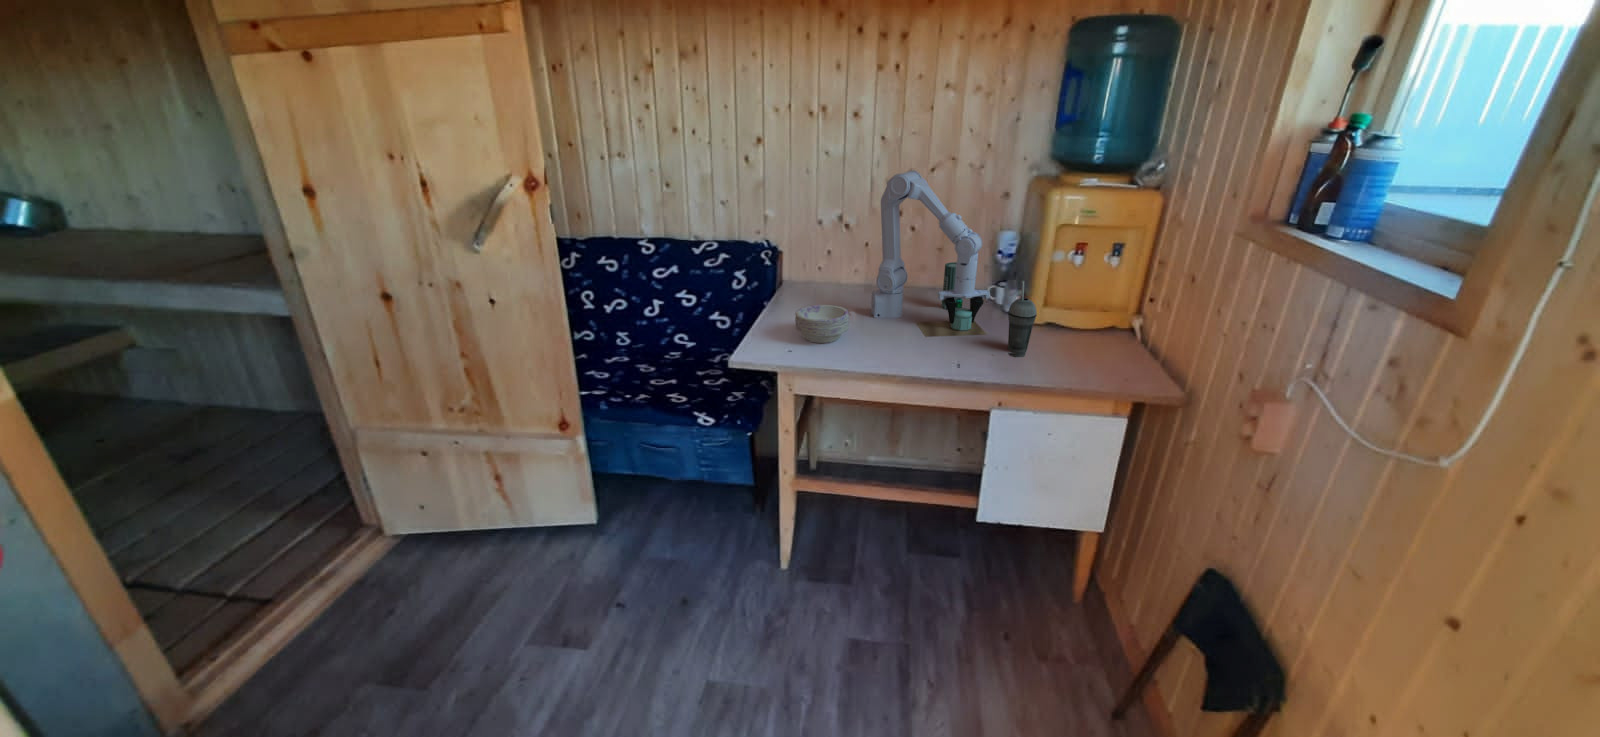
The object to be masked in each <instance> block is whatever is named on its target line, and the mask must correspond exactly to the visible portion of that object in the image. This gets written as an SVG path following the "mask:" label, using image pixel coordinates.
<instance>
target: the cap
mask: <svg viewBox="0 0 1600 737" xmlns="http://www.w3.org/2000/svg"><path fill="white" fill-rule="evenodd" d="M971 323H972V311H971V310H970V308H965V307H962V308H955V313H954V322H953V324H951V327H952V328H953V329H956V330H969V329H970V328H971Z"/></svg>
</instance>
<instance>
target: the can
mask: <svg viewBox="0 0 1600 737" xmlns="http://www.w3.org/2000/svg"><path fill="white" fill-rule="evenodd" d="M956 265H957V261H956V262H947V263H945V264H944V272H943V273H944V274H943V286H942V291H948V290H954V285H955V275H956ZM954 300H955V302H956V308H963V300H964V298H963V299H954ZM941 308H942V309H944V310H947V307H946V304H945V301H944V299H943V300H941ZM947 311H948V310H947Z"/></svg>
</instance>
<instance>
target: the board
mask: <svg viewBox="0 0 1600 737" xmlns="http://www.w3.org/2000/svg"><path fill="white" fill-rule="evenodd" d="M914 323H915V324H916V326H917V327H918V328H919V330H920V331H921V332H922V334H923V336H925V337H926V338H929V337H930V338H931V337H933V338H934V337H957V336H958V337H959V336H961V337H963V336H987V335H988V333H987V332H986V331H985V330H984V329H983V328H982V327H981V326H980V325H979V324H978V323H977V322H976V321H975V320H974V322H973V323H971V328H970V329H969V330H964V331H960V330H955V329H953V328H952V327H951V323H950V322H949V320H947V321H945V320H944V321H915V322H914Z"/></svg>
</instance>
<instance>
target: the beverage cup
mask: <svg viewBox="0 0 1600 737" xmlns="http://www.w3.org/2000/svg"><path fill="white" fill-rule="evenodd" d="M1024 294H1025V280H1022V281H1021V295H1020V296H1021V297H1020V298H1017V299H1015V300H1014V301H1013V302H1012V303H1011V304H1010V305H1009V308H1008V311H1007V314H1008V317H1007V318H1008V335H1007V336H1008V337H1007V338H1008V342H1007V350H1008V351H1009V352H1008V353H1007V354H1008V355H1009V356H1010V357H1013V358H1024V357H1025V356H1026V353H1027V351H1028V346H1029V343H1030V339H1031V335H1032V330H1033V326H1034V323H1035V320H1036V319H1037V318H1036V317H1037V316H1038V315H1037V307H1036V305H1035V303H1034V302H1033V301H1032V300H1031V299H1029V298H1025V297H1024V296H1025V295H1024Z"/></svg>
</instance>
